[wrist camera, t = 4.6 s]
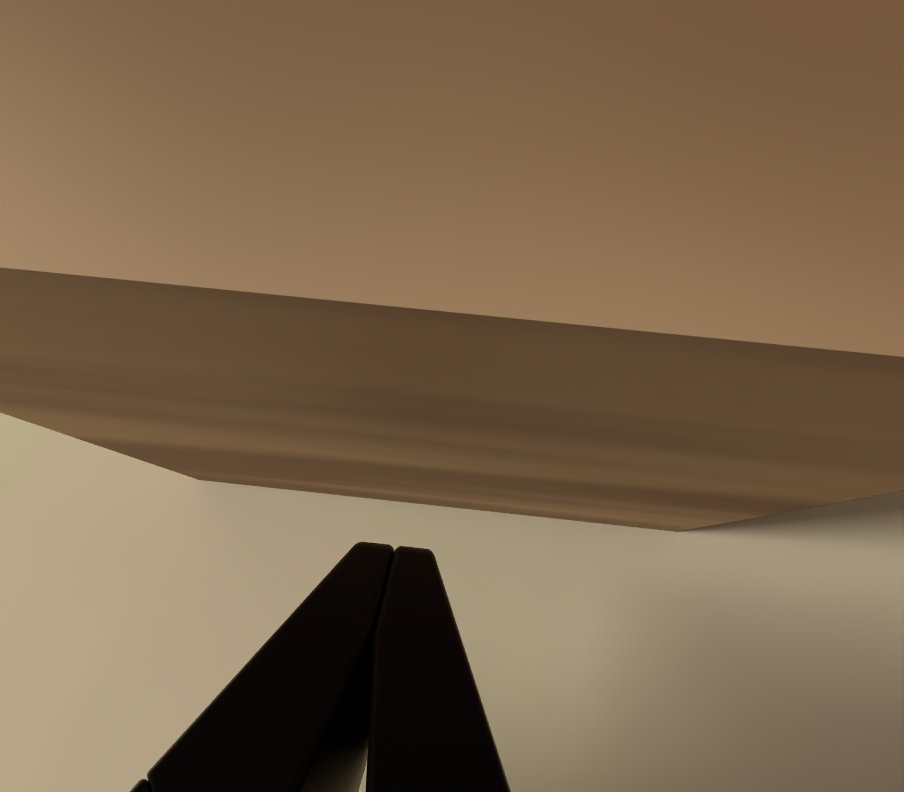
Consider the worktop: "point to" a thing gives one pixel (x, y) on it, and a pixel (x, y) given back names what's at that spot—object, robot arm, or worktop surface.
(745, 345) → the walnut slab
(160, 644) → the worktop surface
